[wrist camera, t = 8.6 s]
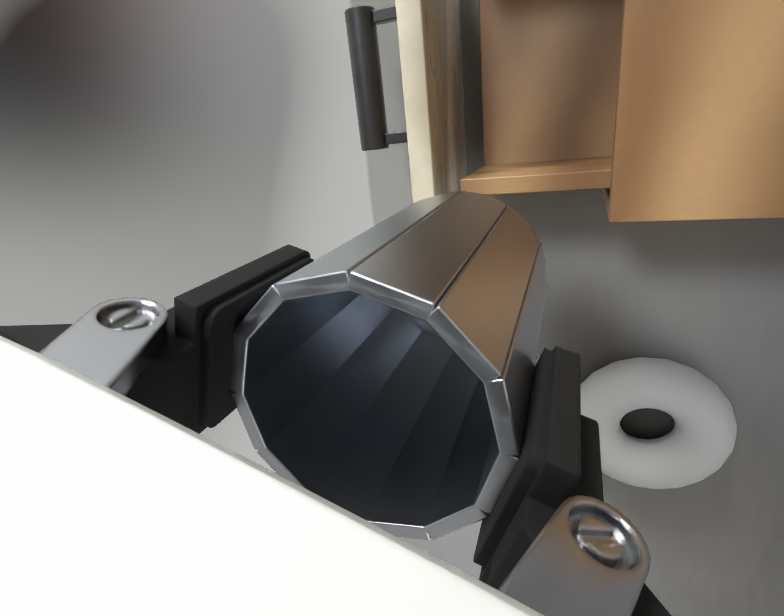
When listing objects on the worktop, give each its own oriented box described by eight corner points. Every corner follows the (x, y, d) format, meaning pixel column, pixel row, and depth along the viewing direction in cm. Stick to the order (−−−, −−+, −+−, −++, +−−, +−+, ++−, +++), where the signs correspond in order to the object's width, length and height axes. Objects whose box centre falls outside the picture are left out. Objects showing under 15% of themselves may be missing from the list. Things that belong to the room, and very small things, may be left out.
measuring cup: (372, 313, 18) (224, 460, 11) (406, 169, 16) (238, 228, 8) (511, 368, 17) (456, 581, 9) (575, 222, 14) (573, 356, 7)
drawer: (394, 193, 31) (345, 215, 25) (370, -37, 26) (301, -86, 20) (685, 176, 25) (724, 200, 18) (726, -133, 20) (800, -254, 13)
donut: (752, 447, 30) (692, 326, 29) (772, 484, 27) (705, 352, 26) (604, 476, 35) (544, 375, 34) (606, 511, 32) (542, 401, 31)
